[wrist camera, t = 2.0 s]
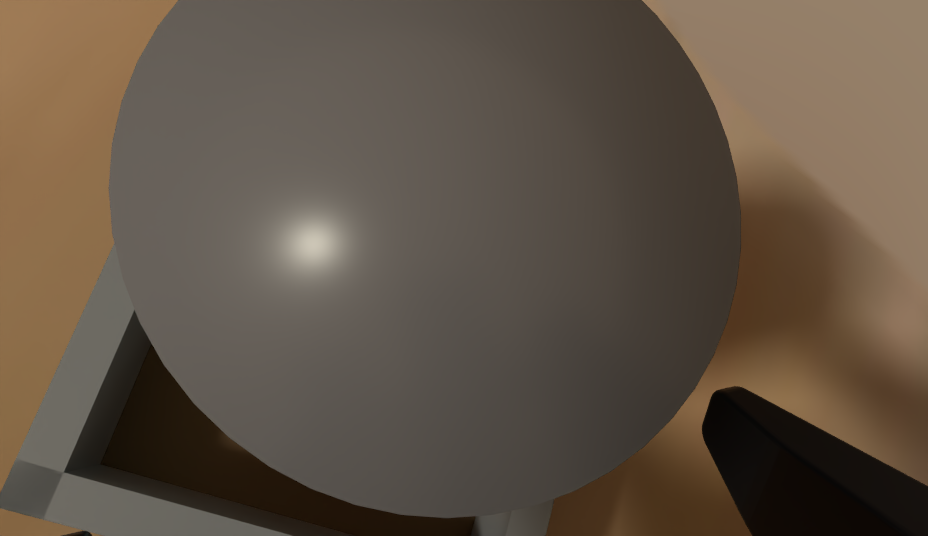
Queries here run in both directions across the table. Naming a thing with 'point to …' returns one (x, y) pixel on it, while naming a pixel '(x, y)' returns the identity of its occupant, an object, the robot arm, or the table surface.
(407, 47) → the canister
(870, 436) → the table surface
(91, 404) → the grey square tray
